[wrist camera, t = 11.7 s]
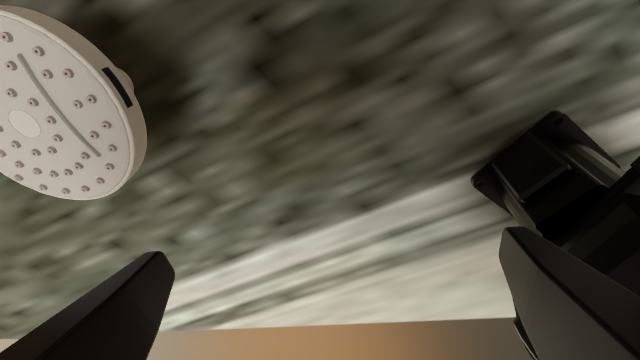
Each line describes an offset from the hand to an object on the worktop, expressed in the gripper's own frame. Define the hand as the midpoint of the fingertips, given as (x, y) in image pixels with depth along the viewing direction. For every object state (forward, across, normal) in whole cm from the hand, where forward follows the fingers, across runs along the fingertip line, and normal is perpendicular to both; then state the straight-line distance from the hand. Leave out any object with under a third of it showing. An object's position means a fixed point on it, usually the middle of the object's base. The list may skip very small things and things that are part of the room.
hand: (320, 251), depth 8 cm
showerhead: (+13, +14, -3) cm, 20 cm away
